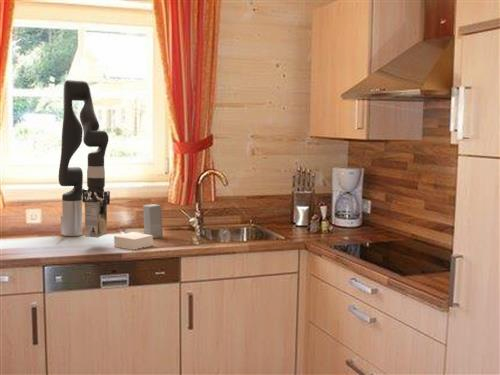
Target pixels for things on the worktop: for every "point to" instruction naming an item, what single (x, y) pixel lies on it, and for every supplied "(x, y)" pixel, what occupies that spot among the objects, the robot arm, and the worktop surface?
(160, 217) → the skincare box
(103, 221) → the coffee box
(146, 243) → the cream block
